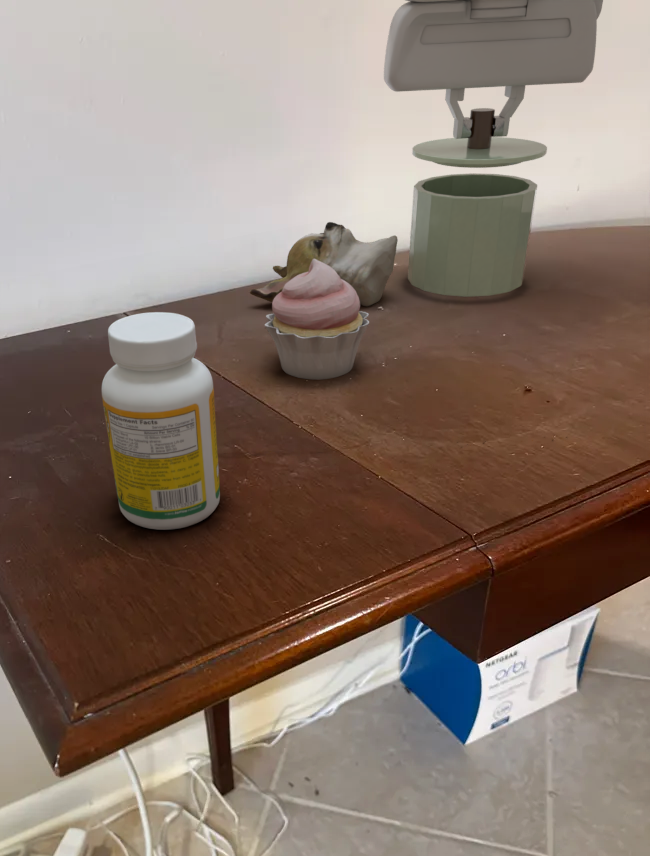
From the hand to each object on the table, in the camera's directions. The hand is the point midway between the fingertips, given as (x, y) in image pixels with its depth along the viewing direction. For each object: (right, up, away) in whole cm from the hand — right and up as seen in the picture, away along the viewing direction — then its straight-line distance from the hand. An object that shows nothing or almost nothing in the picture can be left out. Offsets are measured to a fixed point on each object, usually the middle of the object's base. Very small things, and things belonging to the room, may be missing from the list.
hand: (479, 136), depth 84 cm
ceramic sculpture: (-15, -16, +5) cm, 23 cm away
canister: (+1, -12, +9) cm, 15 cm away
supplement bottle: (-29, -40, -28) cm, 57 cm away
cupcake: (-18, -27, -10) cm, 34 cm away
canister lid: (0, -1, +1) cm, 2 cm away
